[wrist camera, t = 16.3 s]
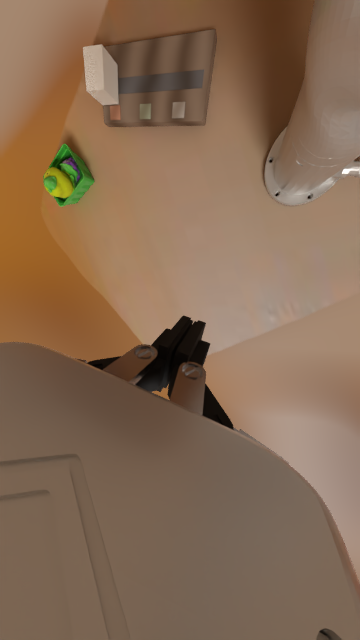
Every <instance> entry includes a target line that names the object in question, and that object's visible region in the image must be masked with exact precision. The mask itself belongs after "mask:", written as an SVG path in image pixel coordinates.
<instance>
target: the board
mask: <svg viewBox="0 0 360 640" xmlns="http://www.w3.org/2000/svg"><path fill="white" fill-rule="evenodd" d="M216 42H217V36H216V29H212V30H206V31H200V32H193V33H187V34H181V35H175V36H168V37H162V38H156V39H149V40H143V41H137V42H130V43H124V44H118V45H112V46H105V47H104V48H105V49H106V50H107V52H108V53H109V54H110V56H111V57H112V58H113V60H114V61H115V62H116V64H117V66H118V99H119V104H113V105H103V109H104V123H105V124H106V125H107V126H109V127H138V126H197V125H205V122H206V115H207V107H208V100H209V93H210V86H211V78H212V71H213V64H214V56H215V49H216Z"/></svg>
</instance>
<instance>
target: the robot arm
mask: <svg viewBox="0 0 360 640" xmlns="http://www.w3.org/2000/svg"><path fill="white" fill-rule="evenodd" d="M359 156H360V0H315V1H314V5H313V10H312V15H311V21H310V27H309V34H308V42H307V51H306V64H305V76H304V80H303V83H302V86H301V89H300V92H299V95H298V98H297V101H296V104H295V107H294V110H293V112H292V115H291V118H290V121H289V124H288V126H287V127H286V128H285V129H284V130H283V131H282V132H281V133H280V135H279V136H278V137H277V139H276V140H275V142H274V144H273V146H272V147H271V149H270V152H269V154H268V157H267V160H266V165H265V171H264V181H265V186H266V189H267V191H268V193H269V194H270V196H271V197H272V198H273V199H274V200H275V201H276V202H278V203H280V204H283V205H288V206H297V205H302V204H305V203H308V202H310V201H312V200H314V199H316V198H318V197H319V196H321V195H322V194H324V193H325V192H326V191H328V190H329V189H330V188H331V187H332V186H333V185H334V184H335V183H336V182H337V180H338V179H344V178H345V177H346V176H354V177H360V161H354V160H355V159H356V158H358V157H359ZM270 160H272V163H270V162H269V161H270ZM276 193H278V196H275V194H276ZM308 196H310V199H308V198H307V197H308ZM192 323H193V321H192V320H191V318H189V317H186V316H182V317H181V319H180V320H179V321H178V322H177V323H176V325H175V326H174V327H173V328H172V329H171V330H170V329H165V331H164V332H163V333H162V334H161V335H160V336H159V337H158V338H157V339H156V340H155V342H154V343H153V344H152V345H151V346H150V345H146V344H144V345H138V346H136V347H134V348H133V349H131V350H130V351H128V352H127V353H126V354H124V355H123V356H120V357H113V358H107V359H100V360H94V361H90V362H88V363H87V361H86V360H81V359H76V358H72V357H70V356H68V355H65V354H63V353H61V352H58V351H55V350H53V349H50V348H47V347H44V346H40V345H36V344H30V343H21V342H6V343H0V640H360V584H359V580H358V578H357V575H356V572H355V569H354V566H353V564H352V561H351V558H350V556H349V553H348V551H347V548H346V546H345V543H344V541H343V538H342V536H341V533H340V531H339V529H338V527H337V524H336V522H335V520H334V518H333V516H332V514H331V512H330V510H329V509H328V507H327V505H326V504H325V502H324V501H323V499H322V498H321V497H320V495H319V494H318V493H317V491H316V490H315V489H314V488H313V487H312V486H311V485H310V483H308V481H307V480H305V478H304V477H303V476H302V475H300V473H298V472H297V471H296V470H295V469H294V468H293V467H291V466H290V465H289V463H288V462H287V461H285V460H284V459H283V458H282V457H280V456H279V455H277V454H276V453H275V452H273V451H272V450H270V449H269V448H267V447H266V446H264V445H263V444H261V443H260V442H259V441H257V440H256V439H254V438H253V437H251V436H250V435H248V434H247V433H245V432H244V431H242V430H241V429H240V430H239V431H238V430H237V429H235V428H234V427H233V424H232V422H231V421H230V419H229V418H228V416H227V415H226V413H225V412H224V410H223V409H222V407H221V406H220V404H219V403H218V401H217V400H216V398H215V397H214V395H213V394H212V392H211V391H210V389H209V388H208V387H207V385H206V384H205V379H206V372H205V370H204V368H203V364H204V362H205V358H206V356H207V352H208V349H209V346H210V343H208V342H205V341H202V340H201V339H202V335H203V331H204V328H205V324H206V323H205V322H202V321H199V320H198V322H194V323H193V325H192ZM168 384H169V386H168V389H169V390H168V396H169V399H170V401H169V400H167V399H165V398H163V397H160V396H158V395H156V394H154V393H152V391H156V390H157V391H159V392H161V390H162V388H163V387H164V388H166V387H167V385H168Z"/></svg>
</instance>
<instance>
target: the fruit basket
mask: <svg viewBox="0 0 360 640" xmlns="http://www.w3.org/2000/svg"><path fill="white" fill-rule="evenodd" d="M43 177H44V186H45V189H46V190H47V191H48V192H49V193H50V194H51V195H52V196H54V198H55V200H56V201H57V203H58V204H59V206H61V207H62V206H65V205H69V204H75V203H77V202H78V201H79V199H80V198H81V197H82V196H83V195H84V193H85V192H86V191H87V190H88V189H89V187H90V186H91V185H92V184H93V183H94V179H93V178H92V176H91V174H90V172H89V170H88V168H87V167H86V166H85V163H84V161H83V160H82V159H81V158H80V157H79V156H77V155H76V154H75V153H74V152H73V151H72V150H71V149H70V148H69V147H68V146H67V145H66V144H63V145H62V146H61V148H60V150H59V151H58V153H57V155H56V157H55V158H54V160H53V161H52V163H51V165H50V166H49V168H48V169H47V171H46V173H45V174H44V176H43Z"/></svg>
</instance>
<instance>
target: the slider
mask: <svg viewBox="0 0 360 640" xmlns="http://www.w3.org/2000/svg"><path fill="white" fill-rule="evenodd" d="M83 54H84V66H85V77H86V89H87V92H88V93H90V94H91V95H92V96H93V97H94V98H95V99H96V100H97V101H98V102H99V103H101V104H102V105H113V104H119V99H118V66H117V64H116V62H115V61H114V60H113V58H112V57H111V56H110V54H109V53H108V52H107V50H106V49H105V48H104V46H103V45H102V44H100V45H94V46H88V47H83Z"/></svg>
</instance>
